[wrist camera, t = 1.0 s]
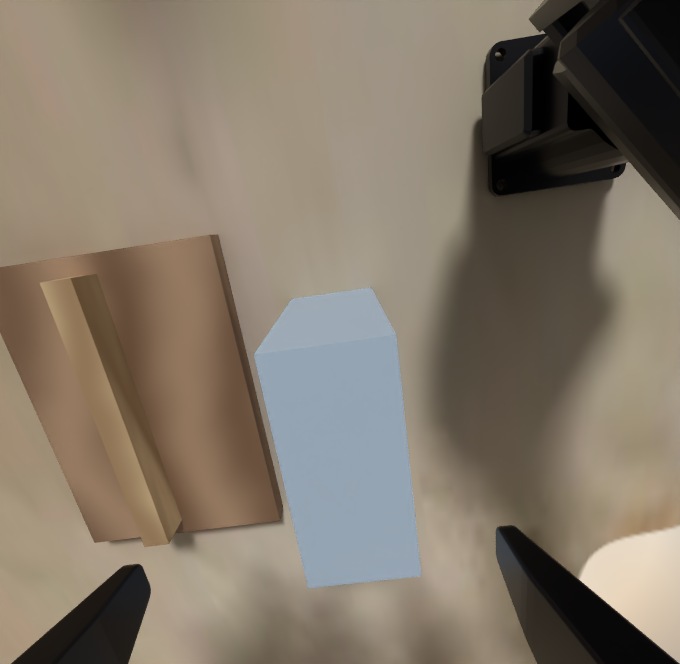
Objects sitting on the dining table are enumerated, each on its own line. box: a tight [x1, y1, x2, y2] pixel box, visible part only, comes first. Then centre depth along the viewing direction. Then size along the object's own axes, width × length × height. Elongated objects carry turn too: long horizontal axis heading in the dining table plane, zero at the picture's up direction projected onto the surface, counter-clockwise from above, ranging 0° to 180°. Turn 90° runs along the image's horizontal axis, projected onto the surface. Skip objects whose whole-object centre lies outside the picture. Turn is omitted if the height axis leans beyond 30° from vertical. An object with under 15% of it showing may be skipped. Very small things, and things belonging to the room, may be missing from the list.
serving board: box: [0, 235, 283, 547], centre depth 20 cm, size 12×18×3 cm
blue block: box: [254, 287, 421, 588], centre depth 17 cm, size 4×10×9 cm, turn 8°
